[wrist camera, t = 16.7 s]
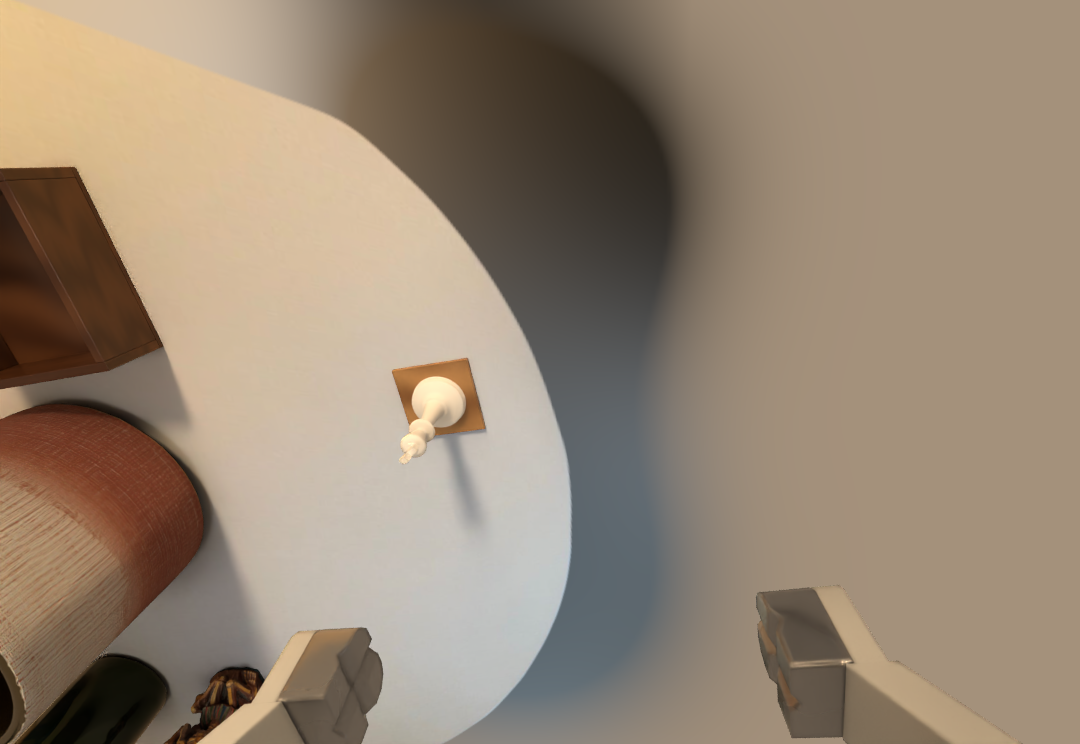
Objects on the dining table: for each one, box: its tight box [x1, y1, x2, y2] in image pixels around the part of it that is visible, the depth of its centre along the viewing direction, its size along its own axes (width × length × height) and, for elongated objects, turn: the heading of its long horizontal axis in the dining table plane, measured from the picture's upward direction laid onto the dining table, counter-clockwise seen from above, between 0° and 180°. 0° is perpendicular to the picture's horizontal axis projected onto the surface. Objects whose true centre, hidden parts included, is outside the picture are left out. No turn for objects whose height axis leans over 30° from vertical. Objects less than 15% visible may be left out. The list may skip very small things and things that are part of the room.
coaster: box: [392, 358, 485, 435], centre depth 47 cm, size 7×7×1 cm
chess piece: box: [399, 376, 466, 464], centre depth 42 cm, size 5×5×10 cm
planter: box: [0, 404, 204, 744], centre depth 45 cm, size 22×22×20 cm
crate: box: [0, 167, 163, 389], centre depth 43 cm, size 16×16×6 cm
